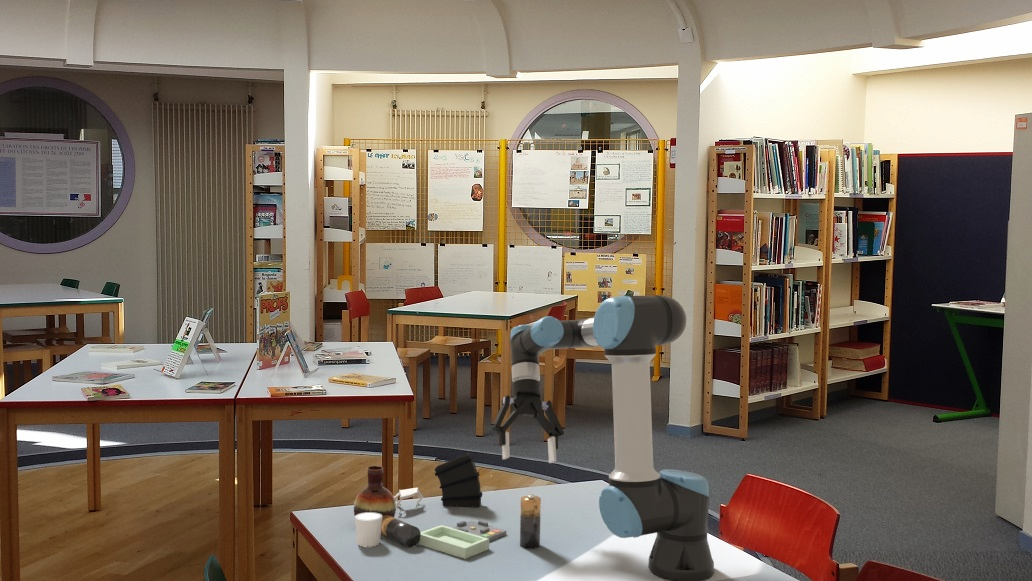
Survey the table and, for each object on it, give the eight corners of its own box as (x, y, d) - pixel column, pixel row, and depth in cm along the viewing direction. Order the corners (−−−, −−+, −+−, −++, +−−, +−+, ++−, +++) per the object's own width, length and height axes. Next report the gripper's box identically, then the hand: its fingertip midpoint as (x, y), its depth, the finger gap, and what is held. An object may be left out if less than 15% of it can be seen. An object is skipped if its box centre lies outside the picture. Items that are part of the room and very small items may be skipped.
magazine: (490, 503, 261) (468, 454, 261) (448, 520, 263) (427, 472, 263) (492, 499, 265) (471, 451, 265) (451, 516, 267) (430, 469, 267)
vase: (358, 517, 252) (358, 461, 251) (398, 518, 251) (399, 462, 250) (349, 531, 241) (349, 472, 240) (392, 532, 240) (392, 474, 239)
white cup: (366, 550, 227) (366, 522, 227) (348, 543, 232) (349, 515, 231) (388, 543, 232) (388, 516, 232) (370, 536, 237) (370, 509, 236)
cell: (543, 546, 232) (545, 495, 231) (529, 550, 229) (530, 499, 228) (530, 540, 236) (531, 491, 235) (515, 544, 233) (516, 494, 232)
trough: (489, 549, 229) (489, 538, 229) (464, 558, 222) (465, 548, 222) (441, 534, 239) (441, 524, 239) (416, 543, 232) (417, 533, 232)
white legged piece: (396, 502, 266) (396, 485, 266) (424, 503, 266) (425, 487, 265) (385, 515, 255) (385, 497, 254) (415, 517, 254) (415, 499, 253)
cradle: (506, 534, 240) (506, 527, 240) (483, 543, 233) (483, 536, 233) (471, 524, 248) (471, 517, 248) (448, 532, 241) (448, 526, 241)
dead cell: (420, 544, 232) (420, 525, 231) (404, 549, 228) (404, 529, 228) (391, 531, 241) (391, 512, 241) (375, 535, 238) (375, 516, 237)
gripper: (559, 391, 257) (564, 466, 248) (477, 381, 246) (479, 459, 238) (573, 383, 251) (578, 460, 242) (490, 372, 240) (492, 452, 231)
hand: (529, 460), depth 240 cm, fingers open, 13 cm apart
